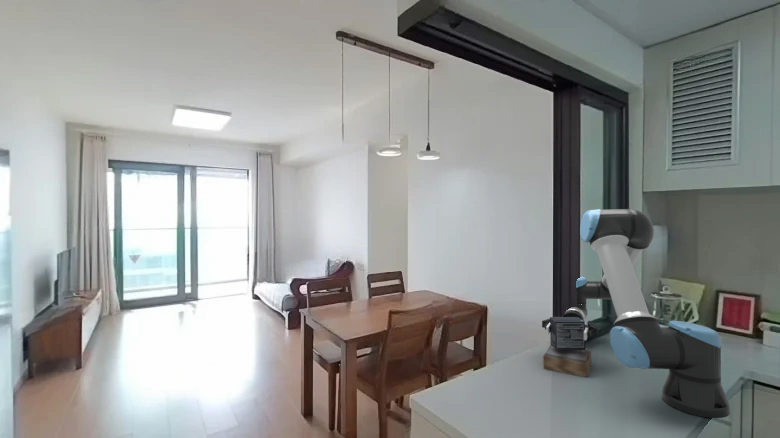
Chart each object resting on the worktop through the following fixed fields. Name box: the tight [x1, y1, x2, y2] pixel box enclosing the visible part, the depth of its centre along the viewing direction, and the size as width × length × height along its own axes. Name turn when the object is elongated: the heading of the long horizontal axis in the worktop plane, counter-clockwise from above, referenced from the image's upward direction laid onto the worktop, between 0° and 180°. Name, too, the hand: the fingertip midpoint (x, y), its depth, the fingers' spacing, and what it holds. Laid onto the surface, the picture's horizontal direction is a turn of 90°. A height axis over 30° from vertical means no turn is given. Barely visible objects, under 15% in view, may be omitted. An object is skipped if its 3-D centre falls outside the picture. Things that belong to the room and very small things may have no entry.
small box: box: [549, 316, 587, 350], centre depth 135 cm, size 11×6×10 cm, turn 84°
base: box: [543, 344, 592, 378], centre depth 135 cm, size 14×14×6 cm
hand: (565, 333), depth 132 cm, fingers closed on small box, 12 cm apart
